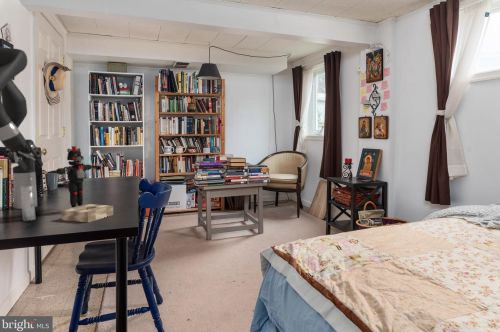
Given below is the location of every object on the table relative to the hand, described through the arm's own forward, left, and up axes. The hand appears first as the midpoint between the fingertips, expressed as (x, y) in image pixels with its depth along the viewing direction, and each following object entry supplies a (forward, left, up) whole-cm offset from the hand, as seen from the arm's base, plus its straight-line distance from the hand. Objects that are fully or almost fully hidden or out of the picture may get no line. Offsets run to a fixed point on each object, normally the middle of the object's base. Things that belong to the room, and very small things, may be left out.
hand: (33, 167), depth 146 cm
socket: (+23, +6, -21) cm, 32 cm away
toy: (+9, +14, -21) cm, 27 cm away
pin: (+2, -5, -21) cm, 22 cm away
